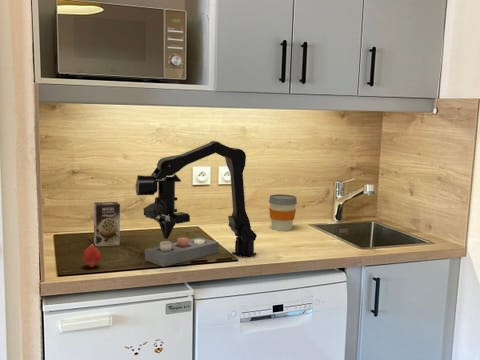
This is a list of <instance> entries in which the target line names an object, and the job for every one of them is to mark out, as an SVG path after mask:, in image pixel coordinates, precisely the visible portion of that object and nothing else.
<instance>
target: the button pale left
mask: <svg viewBox="0 0 480 360" xmlns="http://www.w3.org/2000/svg"><path fill="white" fill-rule="evenodd" d="M171 243H172V241H169V240H165V241H164V240H163V241H160V242H159V246H160V251H163V252H167V251H171Z"/></svg>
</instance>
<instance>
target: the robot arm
mask: <svg viewBox="0 0 480 360" xmlns="http://www.w3.org/2000/svg"><path fill="white" fill-rule="evenodd" d="M214 154H217V155H218V156H221V157H223V158H224V159H225V164H226V166H227V169H228V171H229V173H230V189H231V200H232V201H231V202H232V213H231V215H227V219H228V227H229V228H230V230H231V231H232V232H233V233H234V236H236V237H235V243H234V244H235V246H234V251H233V252H232V254H233V255H235V256H239V257H242V258H249V257H251V256H255V255H257V253H256V252H254V249H255V241H256V239H257V238H258V237H257V236H258V235H257V234H256V233H255V232H254V230H252V225H251V222H250V219H249V216H248V213H247V212H246V211H247V210H246V200H245V186H244V175H243V174H244V171H245V168H246V161H247V155H246V152H245V151H244V150H243V149H241V148H238V147H230V146H227V145H225V144H223V143H221V142H220V141H216V140H210V142H208V143H205V144H203V145H201V146H199V147H198V146H197V147H195V148H193V149H191V150H188V151H187V152H184V153H181V154H177V155H171V156H164V157H162V158H160V159H159V160H158V162H157V163H156V168H155V169H154V170H153V172H152V173H151V175H142V174H140V175H139V174H138V175H137V176H136V182H135V193H136V197H137V196H154V195H155V194H156V193H157V192H158V195H157V196H156V197H155V198H154V202H152V203H150V204H148V205H147V206H145V207H143V208H142V209H143V216H145V218H148V219H151V220H154V221H156V222H157V223H158V224H159V228H160V230H161V233H162V236H163V239H165V240H167V239H168V238H170V235H171V233H172V231H173V229H174V227H175V225H177V224H183V223H184V224H185V223H189V222H191V215H190V214H189V213H188V212H184V211H178V209H177V208H176V205H175V204H176V202H177V201H178V197H177V196H176V183H179V182H180V183H181V181H182V180H181V179H180V177H178V174H176V173H178V172H180V171H181V170H183V168H184V167H186V166H188V165H190V164H192V163H195V162H197V161H199V160H203V159H204V158H207V157H209V156H212V155H214ZM175 201H176V202H175Z"/></svg>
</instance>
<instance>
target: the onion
mask: <svg viewBox="0 0 480 360" xmlns="http://www.w3.org/2000/svg"><path fill="white" fill-rule="evenodd" d="M101 258H102V253H101V252H100V250H99V249H98V248H97V246H95V244H94V243H91V244H90V245H89V246H88V247H87V248H86V249H84V251H83V253H82V261H83V262H84V263H85V264H86V265H87V266H88V267H90V268H94V267H95V266H97V264H99V262H100V261H101Z"/></svg>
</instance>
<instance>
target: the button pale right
mask: <svg viewBox="0 0 480 360" xmlns="http://www.w3.org/2000/svg"><path fill="white" fill-rule="evenodd" d="M194 243H196V244H202V243H205V240H202V239H196V240H194Z"/></svg>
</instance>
